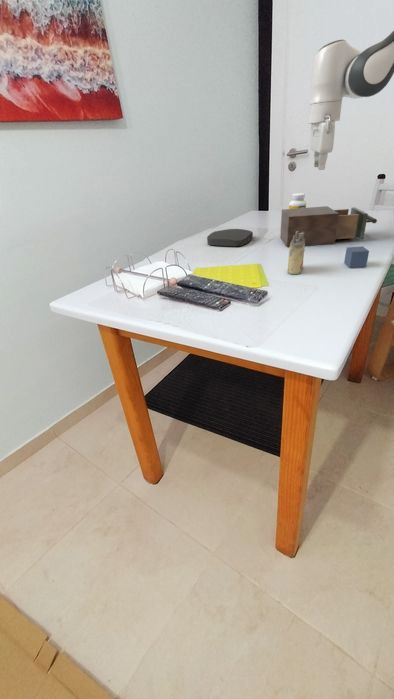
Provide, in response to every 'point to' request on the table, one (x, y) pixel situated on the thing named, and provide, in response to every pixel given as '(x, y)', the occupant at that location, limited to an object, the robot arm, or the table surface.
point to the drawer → (352, 223)
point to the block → (356, 257)
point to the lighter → (296, 253)
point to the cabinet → (310, 225)
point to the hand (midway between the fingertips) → (319, 168)
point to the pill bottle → (297, 201)
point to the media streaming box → (230, 237)
